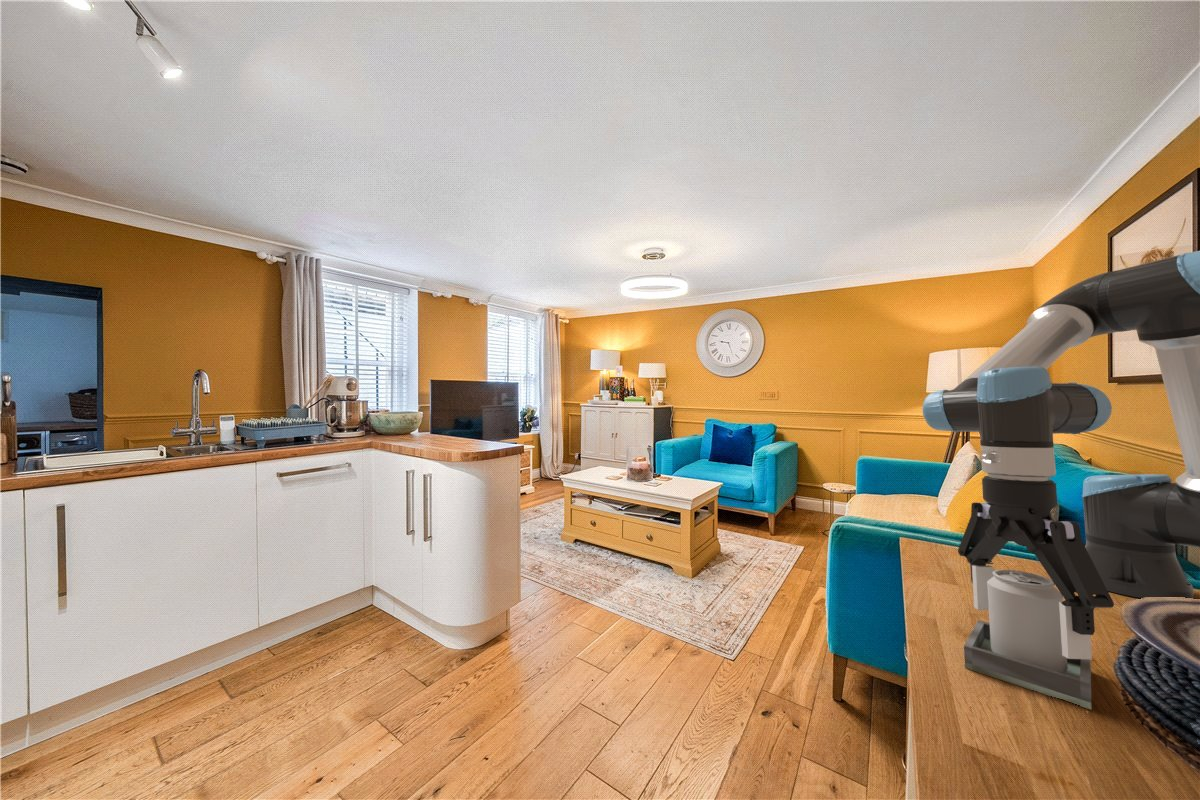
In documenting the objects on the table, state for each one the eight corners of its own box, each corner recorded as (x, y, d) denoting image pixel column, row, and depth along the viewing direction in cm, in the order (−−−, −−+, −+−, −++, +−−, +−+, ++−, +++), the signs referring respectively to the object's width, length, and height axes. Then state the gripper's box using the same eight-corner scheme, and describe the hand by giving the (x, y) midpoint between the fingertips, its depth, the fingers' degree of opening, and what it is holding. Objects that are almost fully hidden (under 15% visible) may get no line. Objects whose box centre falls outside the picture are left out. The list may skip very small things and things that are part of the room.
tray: (979, 639, 67) (978, 620, 67) (1091, 671, 59) (1089, 649, 59) (965, 667, 60) (964, 645, 60) (1091, 709, 51) (1090, 683, 51)
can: (1019, 677, 56) (1013, 584, 57) (978, 648, 63) (973, 565, 64) (1085, 682, 55) (1079, 587, 55) (1035, 651, 62) (1030, 567, 63)
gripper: (927, 467, 73) (933, 593, 72) (1081, 491, 48) (1094, 684, 47) (974, 467, 73) (980, 594, 72) (1153, 491, 48) (1168, 687, 47)
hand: (1025, 630), depth 59 cm, fingers open, 13 cm apart
